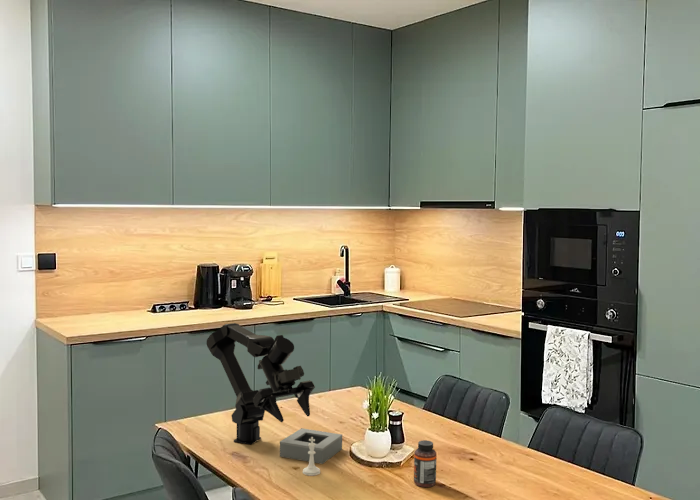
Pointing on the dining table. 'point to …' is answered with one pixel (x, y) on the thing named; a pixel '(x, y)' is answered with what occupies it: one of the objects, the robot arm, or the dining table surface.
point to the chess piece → (311, 461)
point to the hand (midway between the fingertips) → (295, 418)
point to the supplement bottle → (425, 464)
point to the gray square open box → (299, 448)
